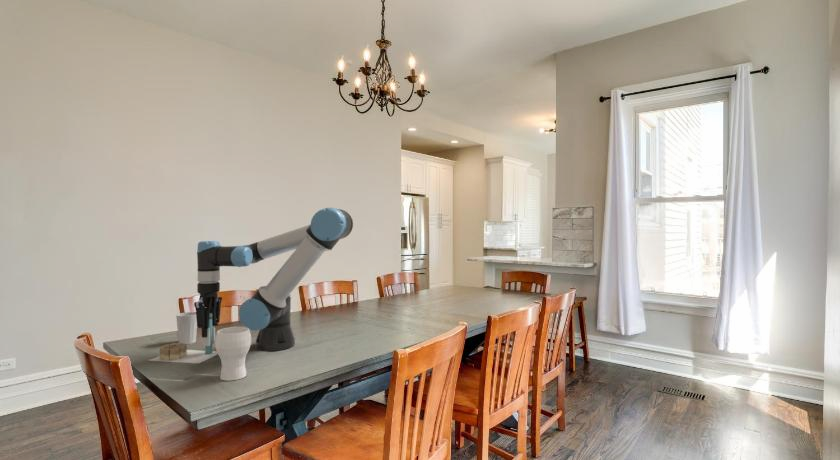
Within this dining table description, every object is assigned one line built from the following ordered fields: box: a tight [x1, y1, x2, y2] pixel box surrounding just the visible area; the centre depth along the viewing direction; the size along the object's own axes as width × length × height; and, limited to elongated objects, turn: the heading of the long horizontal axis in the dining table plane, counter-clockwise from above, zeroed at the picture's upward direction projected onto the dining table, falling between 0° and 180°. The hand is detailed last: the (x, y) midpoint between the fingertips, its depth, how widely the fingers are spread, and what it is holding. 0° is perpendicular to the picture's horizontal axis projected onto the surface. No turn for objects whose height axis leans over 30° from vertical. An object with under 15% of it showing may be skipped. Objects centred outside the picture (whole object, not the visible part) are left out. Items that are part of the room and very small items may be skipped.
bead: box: [159, 342, 188, 361], centre depth 155 cm, size 8×8×4 cm
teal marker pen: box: [204, 313, 213, 354], centre depth 160 cm, size 2×2×15 cm
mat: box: [148, 349, 219, 364], centre depth 157 cm, size 20×14×1 cm
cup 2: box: [214, 326, 252, 382], centre depth 136 cm, size 11×11×15 cm
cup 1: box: [175, 311, 198, 345], centre depth 175 cm, size 8×8×12 cm
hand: (208, 344), depth 160 cm, fingers closed on teal marker pen, 2 cm apart
